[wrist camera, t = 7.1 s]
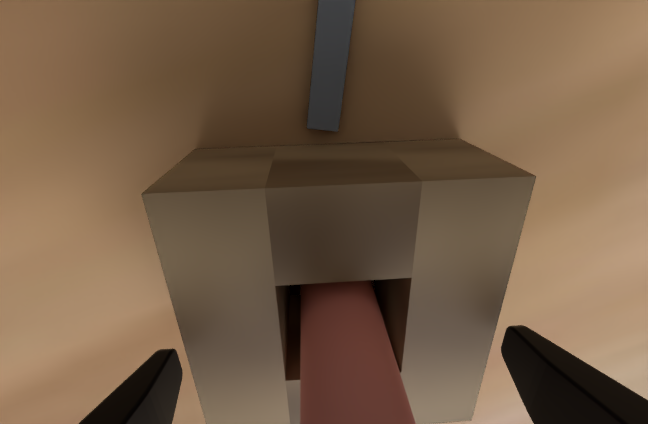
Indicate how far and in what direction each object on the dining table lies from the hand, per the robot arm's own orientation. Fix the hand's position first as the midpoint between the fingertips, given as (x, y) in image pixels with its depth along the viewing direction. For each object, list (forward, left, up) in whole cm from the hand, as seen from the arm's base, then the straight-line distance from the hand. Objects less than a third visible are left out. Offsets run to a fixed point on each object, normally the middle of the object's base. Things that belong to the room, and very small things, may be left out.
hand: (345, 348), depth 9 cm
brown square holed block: (0, 0, -4) cm, 4 cm away
